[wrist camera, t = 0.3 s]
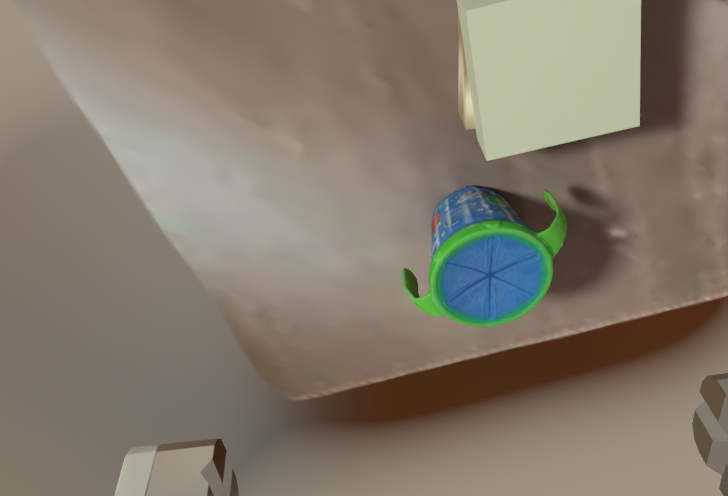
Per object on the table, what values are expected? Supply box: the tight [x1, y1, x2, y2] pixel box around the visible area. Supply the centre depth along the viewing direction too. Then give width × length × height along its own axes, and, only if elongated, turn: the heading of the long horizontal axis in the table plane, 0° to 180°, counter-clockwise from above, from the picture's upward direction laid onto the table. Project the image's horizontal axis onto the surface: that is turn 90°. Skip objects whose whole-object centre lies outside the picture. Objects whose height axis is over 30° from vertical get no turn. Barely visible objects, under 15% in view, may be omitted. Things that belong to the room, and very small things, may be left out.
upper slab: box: [457, 0, 641, 161], centre depth 51 cm, size 12×12×4 cm
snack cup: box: [402, 186, 567, 327], centre depth 61 cm, size 16×10×10 cm
